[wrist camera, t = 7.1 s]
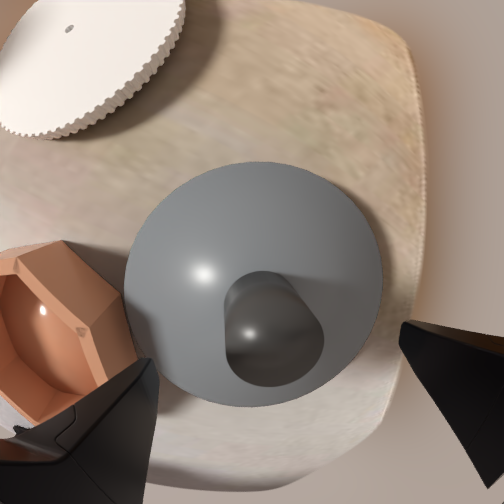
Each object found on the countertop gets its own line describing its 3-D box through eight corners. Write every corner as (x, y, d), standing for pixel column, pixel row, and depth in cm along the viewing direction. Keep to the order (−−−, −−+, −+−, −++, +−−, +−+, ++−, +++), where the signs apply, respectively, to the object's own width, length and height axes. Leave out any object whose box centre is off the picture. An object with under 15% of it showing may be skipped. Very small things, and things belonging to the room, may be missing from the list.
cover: (364, 377, 16) (397, 421, 11) (159, 404, 15) (147, 460, 10) (375, 162, 13) (433, 155, 8) (112, 180, 12) (62, 175, 7)
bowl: (153, 402, 16) (141, 448, 12) (32, 388, 15) (10, 419, 11) (109, 233, 14) (70, 249, 9) (-14, 253, 13) (-53, 268, 8)
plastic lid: (0, 161, 12) (-23, 160, 9) (35, 10, 9) (21, -1, 6) (181, 122, 13) (173, 108, 11) (195, -36, 10) (193, -57, 8)
